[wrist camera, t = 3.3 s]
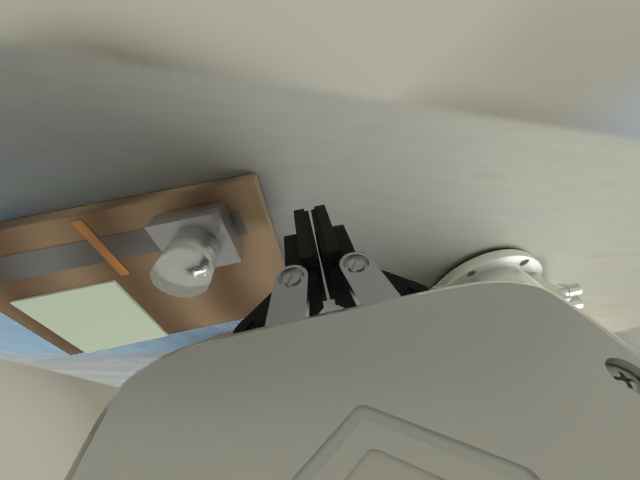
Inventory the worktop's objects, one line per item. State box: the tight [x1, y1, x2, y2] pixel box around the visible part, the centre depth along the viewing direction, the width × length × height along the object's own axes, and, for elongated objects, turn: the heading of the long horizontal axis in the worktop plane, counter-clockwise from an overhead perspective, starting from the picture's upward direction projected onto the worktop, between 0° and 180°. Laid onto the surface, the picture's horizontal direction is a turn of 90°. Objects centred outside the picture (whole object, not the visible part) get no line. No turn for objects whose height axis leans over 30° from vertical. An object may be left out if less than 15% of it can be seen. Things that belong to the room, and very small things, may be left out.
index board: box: [0, 173, 285, 355], centre depth 17 cm, size 20×12×2 cm, turn 98°
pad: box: [10, 280, 168, 354], centre depth 18 cm, size 7×7×1 cm
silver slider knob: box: [144, 202, 244, 297], centre depth 13 cm, size 4×4×4 cm
